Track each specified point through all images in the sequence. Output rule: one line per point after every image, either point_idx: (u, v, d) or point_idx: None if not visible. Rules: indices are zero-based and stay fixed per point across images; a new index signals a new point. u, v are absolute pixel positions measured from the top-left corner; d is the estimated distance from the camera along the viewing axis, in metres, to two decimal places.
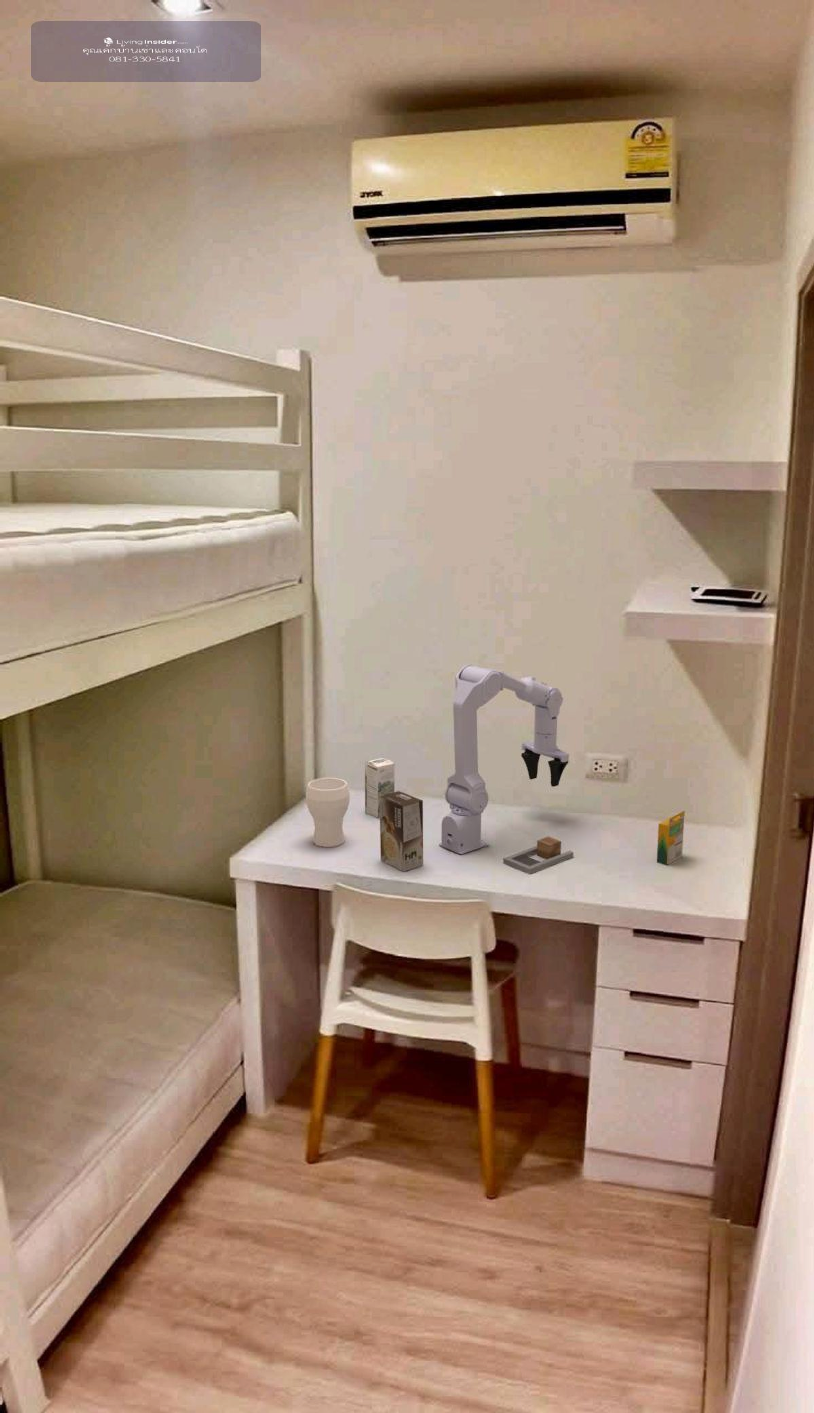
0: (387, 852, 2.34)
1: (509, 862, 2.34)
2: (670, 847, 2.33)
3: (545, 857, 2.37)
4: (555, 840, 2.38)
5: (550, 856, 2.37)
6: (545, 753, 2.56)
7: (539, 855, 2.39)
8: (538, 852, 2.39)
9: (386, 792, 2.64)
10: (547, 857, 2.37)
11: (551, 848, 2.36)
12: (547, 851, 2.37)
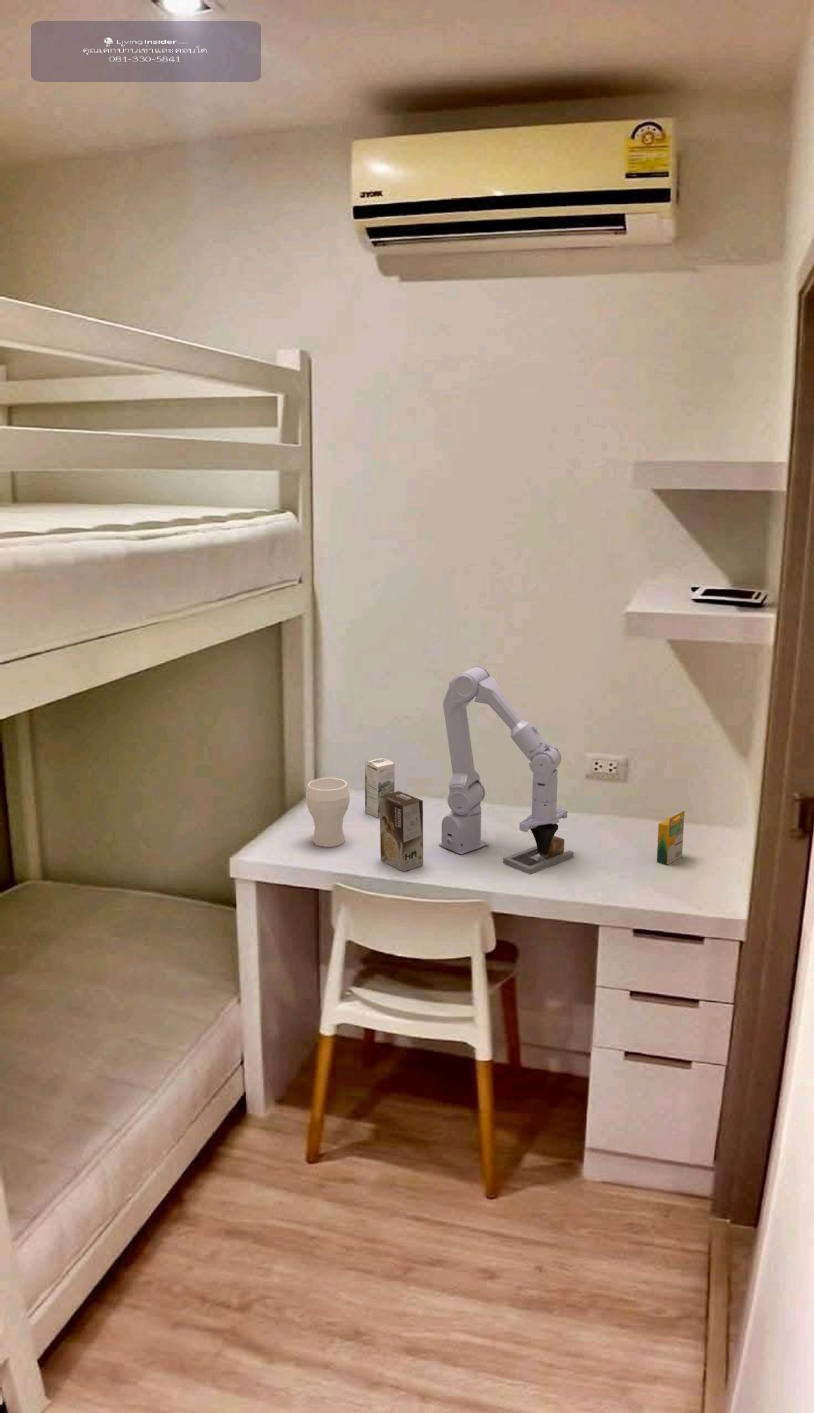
0: (387, 852, 2.34)
1: (509, 862, 2.34)
2: (670, 847, 2.33)
3: (548, 856, 2.38)
4: (558, 839, 2.39)
5: (553, 854, 2.37)
6: None
7: None
8: None
9: (386, 792, 2.64)
10: (550, 855, 2.37)
11: (554, 846, 2.37)
12: (550, 849, 2.37)
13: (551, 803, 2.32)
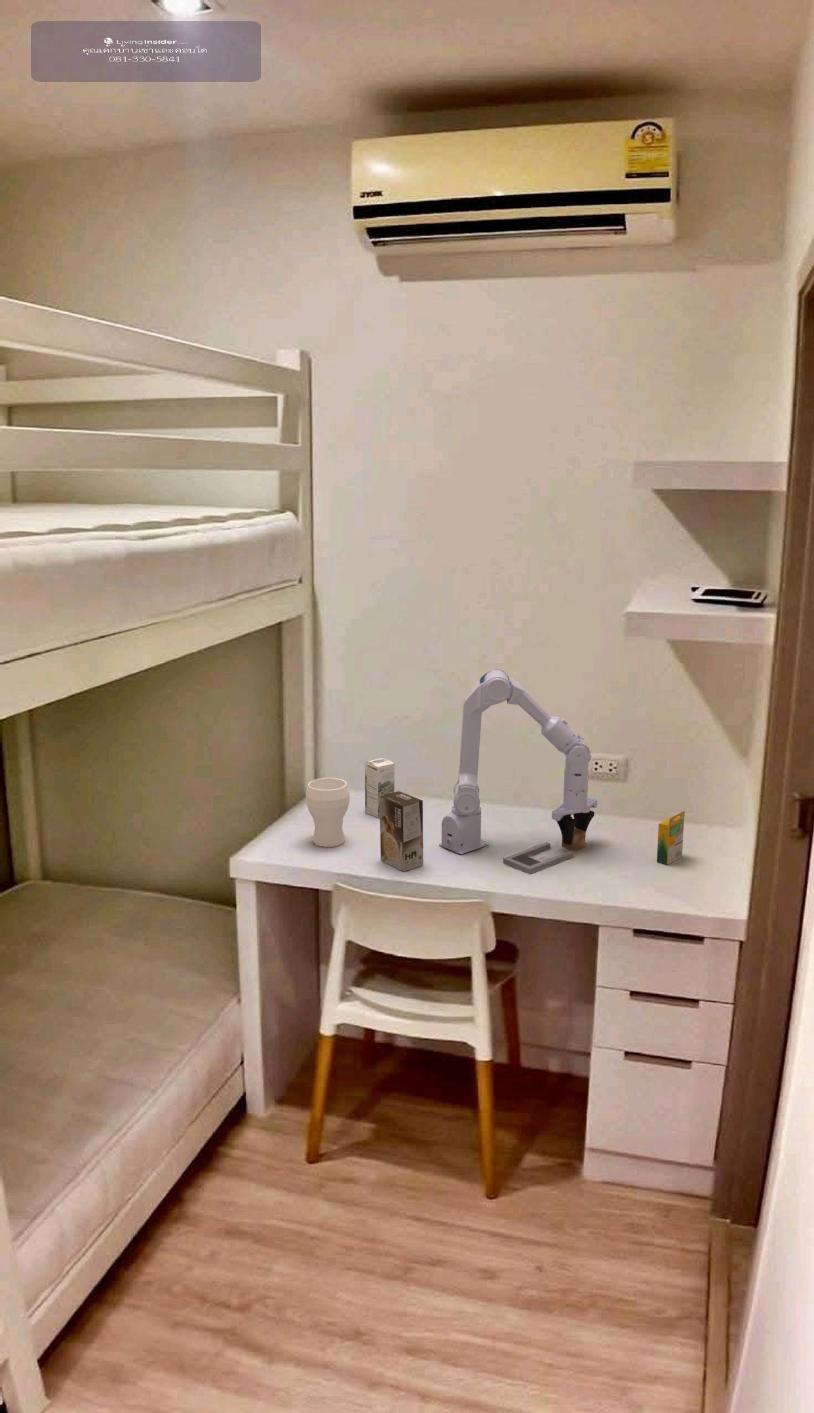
0: (387, 852, 2.34)
1: (509, 862, 2.34)
2: (670, 847, 2.33)
3: (570, 847, 2.43)
4: (580, 831, 2.44)
5: (575, 846, 2.42)
6: None
7: (564, 845, 2.44)
8: (563, 842, 2.44)
9: (386, 792, 2.64)
10: (572, 847, 2.42)
11: (576, 838, 2.42)
12: (572, 841, 2.42)
13: (582, 792, 2.39)
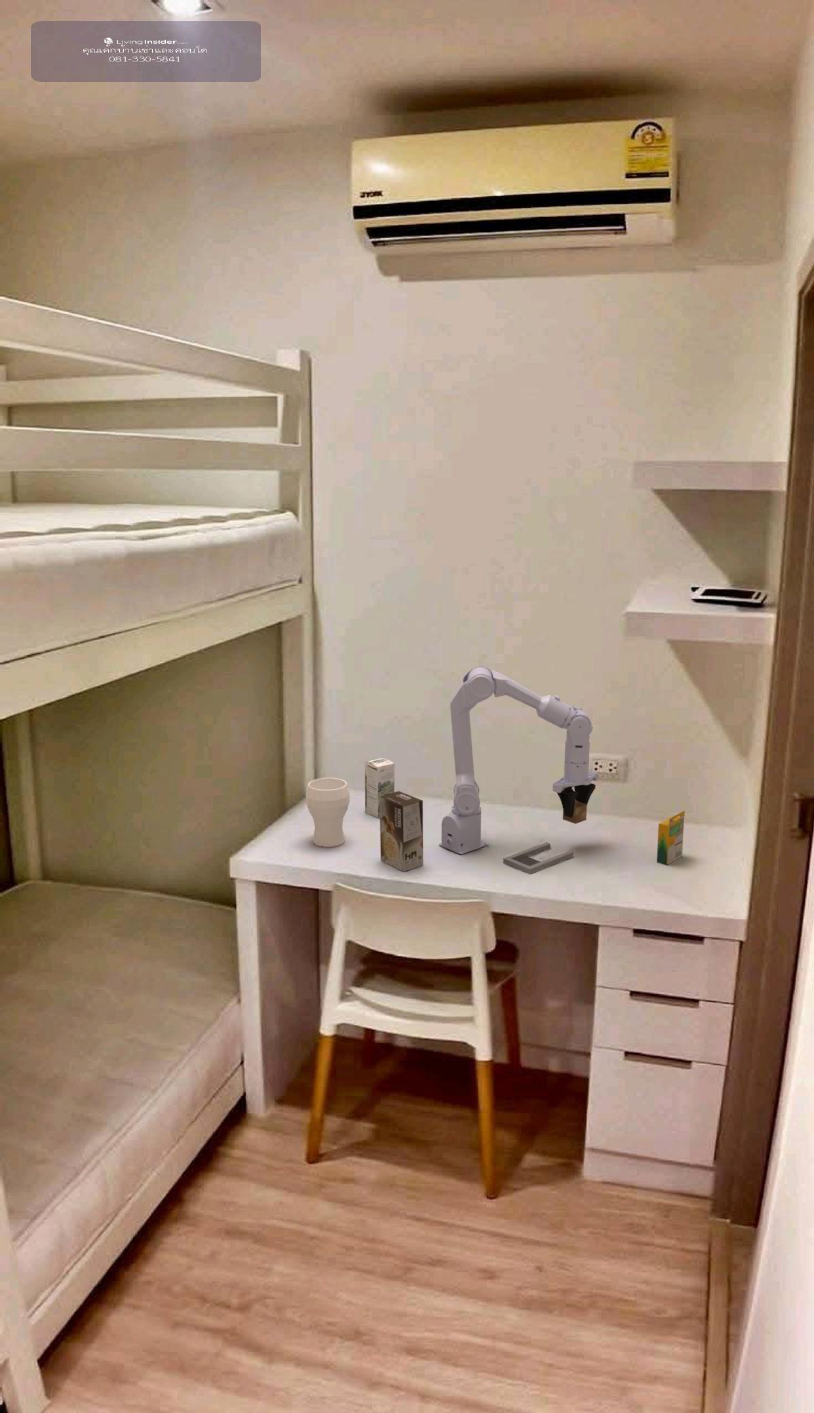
0: (387, 852, 2.34)
1: (509, 862, 2.34)
2: (670, 847, 2.33)
3: (571, 820, 2.41)
4: (581, 804, 2.42)
5: (576, 819, 2.40)
6: None
7: (565, 818, 2.43)
8: (564, 815, 2.43)
9: (386, 792, 2.64)
10: (573, 820, 2.41)
11: (577, 810, 2.40)
12: (573, 814, 2.40)
13: (583, 765, 2.37)
